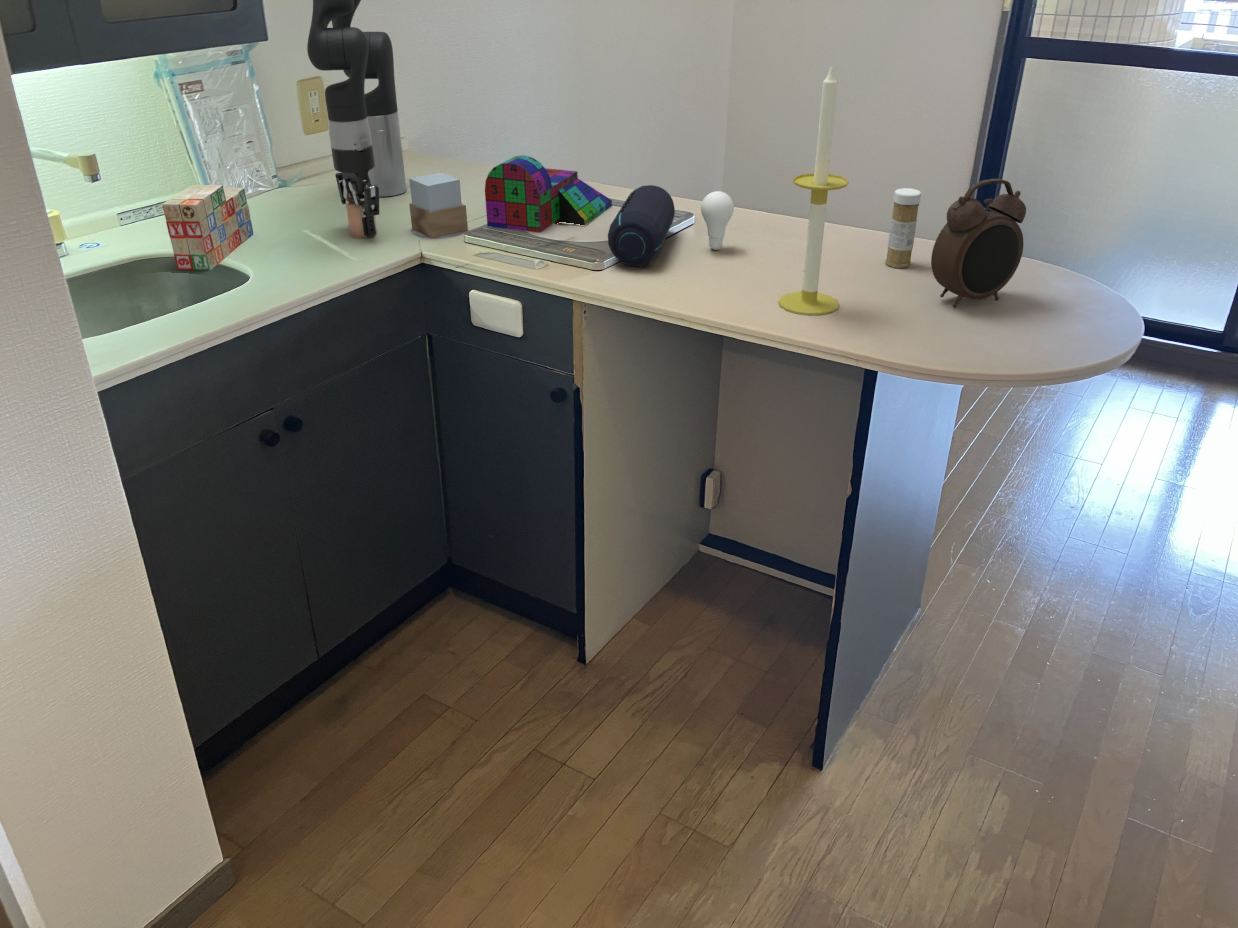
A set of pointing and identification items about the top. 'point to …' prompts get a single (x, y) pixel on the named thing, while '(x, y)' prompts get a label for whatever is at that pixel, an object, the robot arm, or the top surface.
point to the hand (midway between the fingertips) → (363, 231)
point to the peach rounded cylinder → (356, 221)
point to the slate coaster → (437, 237)
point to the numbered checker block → (538, 196)
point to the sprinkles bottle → (903, 227)
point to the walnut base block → (439, 221)
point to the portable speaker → (641, 225)
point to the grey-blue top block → (435, 192)
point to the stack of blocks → (206, 224)
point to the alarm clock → (979, 244)
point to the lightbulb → (717, 216)
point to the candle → (817, 212)
